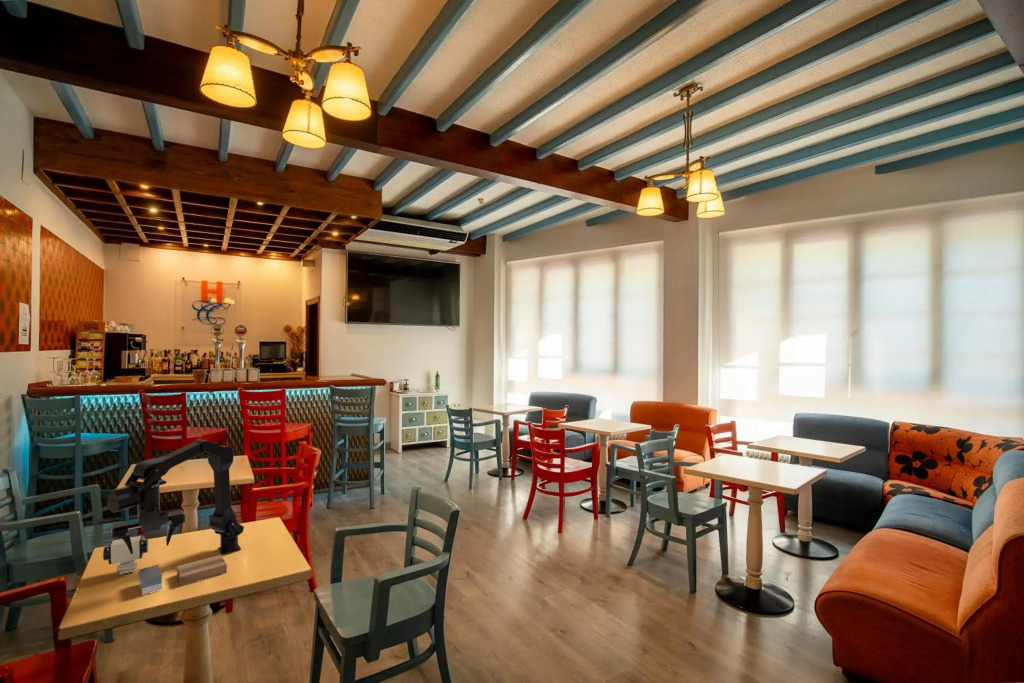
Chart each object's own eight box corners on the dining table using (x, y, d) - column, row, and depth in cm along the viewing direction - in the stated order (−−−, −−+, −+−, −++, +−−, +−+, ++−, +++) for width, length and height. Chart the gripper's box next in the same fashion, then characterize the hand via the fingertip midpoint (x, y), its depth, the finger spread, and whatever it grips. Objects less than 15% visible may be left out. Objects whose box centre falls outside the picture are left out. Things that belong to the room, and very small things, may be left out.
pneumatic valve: (147, 570, 170) (146, 536, 170) (103, 579, 164) (102, 543, 164) (149, 564, 175) (148, 530, 174) (106, 572, 169) (106, 537, 168)
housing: (139, 584, 162) (138, 569, 161) (158, 579, 165) (157, 564, 165) (142, 596, 155) (142, 580, 155) (162, 590, 158) (161, 575, 158)
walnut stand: (176, 575, 167) (176, 566, 167) (221, 563, 176) (220, 554, 176) (180, 586, 161) (180, 576, 160) (226, 572, 169) (226, 564, 169)
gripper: (112, 516, 147) (113, 568, 147) (187, 501, 159) (188, 549, 159) (110, 505, 155) (112, 554, 156) (182, 492, 167) (183, 538, 168)
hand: (149, 549), depth 159 cm, fingers open, 9 cm apart
